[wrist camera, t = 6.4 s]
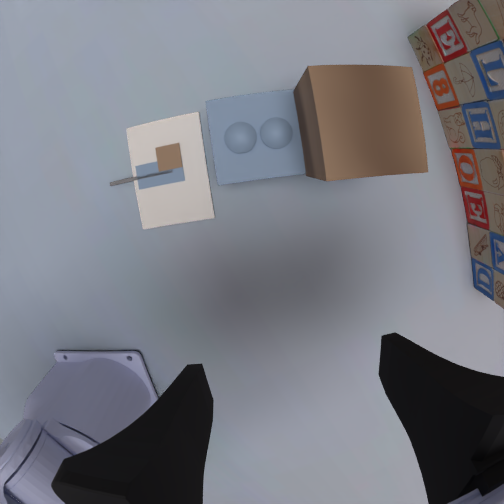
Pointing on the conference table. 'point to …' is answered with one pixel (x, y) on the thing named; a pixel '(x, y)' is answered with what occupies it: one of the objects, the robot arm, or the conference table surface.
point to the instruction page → (170, 171)
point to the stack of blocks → (472, 121)
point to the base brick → (255, 137)
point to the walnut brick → (360, 121)
